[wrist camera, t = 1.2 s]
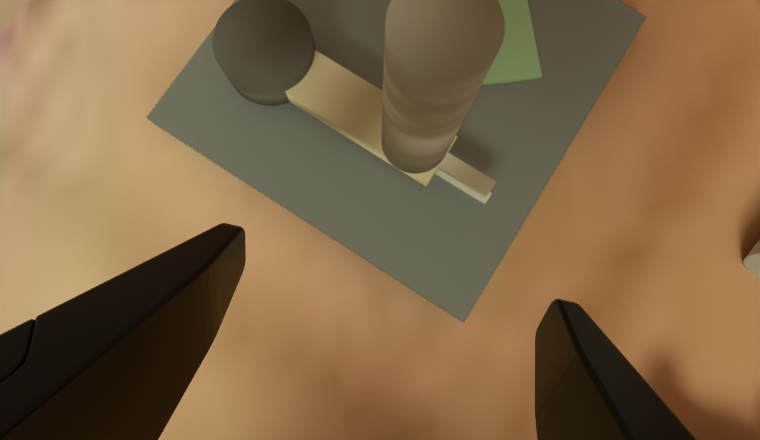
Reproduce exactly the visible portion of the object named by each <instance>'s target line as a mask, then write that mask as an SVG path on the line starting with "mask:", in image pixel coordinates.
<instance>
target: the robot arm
mask: <svg viewBox="0 0 760 440" xmlns="http://www.w3.org/2000/svg"><path fill="white" fill-rule="evenodd" d="M245 259H246V257H245V231H244V229H243V228H242V227H240V226H235V225H231V224H226V223H222V224H219V225H217V226H215V227H213V228H211V229H209V230H207V231H205V232H203V233H201V234H199V235H197V236H195V237H193V238H191V239H189V240H187V241H185V242H183V243H181V244H179V245H177V246H175V247H173V248H171V249H169V250H167V251H165V252H163V253H161V254H159V255H158V256H156V257H154V258H152V259H150V260H148V261H146V262H144V263H142V264H140V265H138V266H136V267H134V268H132V269H130V270H128V271H126V272H124V273H122V274H120V275H118V276H116V277H114V278H112V279H110V280H108V281H106V282H104V283H102V284H100V285H98V286H96V287H94V288H92V289H90V290H88V291H86V292H84V293H82V294H80V295H78V296H76V297H74V298H72V299H70V300H68V301H66V302H64V303H62V304H60V305H58V306H56V307H55V308H53V309H51V310H49V311H47V312H45V313H43V314H41V315H39V316H37V317H36V320H33V319H31V320H28V321H26V322H24V323H22V324H20V325H19V326H17V327H15V328H13V329H11V330H9V331H7V332H5V333H3V334H0V440H158V439H159V437H160V435H161V434H162V432H163V430H164V428H165V426H166V425H167V423H168V421H169V419H170V418H171V416H172V414H173V412H174V411H175V409H176V407H177V405H178V403H179V402H180V400H181V398H182V396H183V395H184V393H185V391H186V389H187V388H188V386H189V384H190V382H191V380H192V379H193V377H194V375H195V373H196V372H197V370H198V368H199V366H200V365H201V363H202V361H203V359H204V358H205V356H206V354H207V352H208V350H209V348H210V347H211V345H212V343H213V341H214V339H215V337H216V334H217V332H218V330H219V328H220V325H221V323H222V321H223V318H224V316H225V313H226V311H227V309H228V306H229V304H230V301H231V299H232V297H233V294H234V292H235V290H236V287H237V285H238V282H239V280H240V278H241V275H242V273H243V270H244V266H245ZM535 418H536V429H537V438H538V440H696V438H695V437H694V436H693V435H692V434H691V433H690V432H689V430H688V429H687V428H686V427H685V426H684V425H683V423H682V422H681V421H680V420H679V419H678V418H677V417H676V415H675V414H674V413H673V412H672V411H671V410H670V409H669V407H668V406H667V405H666V404H665V403H664V402H663V400H662V399H661V398H660V397H659V396H658V395H657V394H656V392H655V391H654V390H653V389H652V388H651V387H650V386H649V384H648V383H647V382H646V381H645V380H644V379H643V377H642V376H641V375H640V374H639V373H638V372H637V371H636V369H635V368H634V367H633V366H632V365H631V364H630V363H629V361H628V360H627V359H626V358H625V357H624V356H623V354H622V353H621V352H620V351H619V350H618V349H617V348H616V346H615V345H614V344H613V343H612V342H611V341H610V340H609V338H608V337H607V336H606V335H605V334H604V333H603V331H602V330H601V329H600V328H599V327H598V326H597V325H596V323H595V322H594V321H593V320H592V319H591V318H590V316H589V315H588V314H587V313H586V312H585V311H584V310H583V308H582V307H581V306H580V305H579V304H577V303H574V302H570V301H566V300H561V299H556V300H554V301H553V302H552V303H551V304H550V306H549V308H548V310H547V312H546V313H545V315H544V317H543V319H542V321H541V322H540V324H539V326H538V328H537V331H536V337H535Z"/></svg>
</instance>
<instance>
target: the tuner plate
mask: <svg viewBox="0 0 760 440" xmlns="http://www.w3.org/2000/svg"><path fill="white" fill-rule="evenodd" d="M238 1H240V0H235V1H234V2H233V4H235V3H236V2H238ZM288 1H290V2H291V3H293V4H294V5H296V6H297V7H298V8H299V9H300V10H301V11H302V12H303V14H304V15H305V17H306V18H307V20H308V22H309V24H310V27H311V31H312V35H313V39H314V43H315V47H316V51H318V52H319V53H321V54H323V55H324V56H326V57H328V58H329V59H331V60H333V61H334V62H336V63H337V64H339V65H341V66H342V67H344V68H346V69H347V70H349V71H351V72H352V73H354V74H356V75H357V76H359V77H360V78H362V79H364V80H365V81H367V82H369V83H370V84H372V85H374V86H375V87H377V88H379V89H380V90H382V91H383V73H384V44H385V20H386V13H387V9H388V6H389V4H390V2H391V0H288ZM498 2H499V4H500V6H501V8H502V11H503V15H504V20H505V35H504V39H503V43H502V46H501V48H500V50H499V52H498V54H497V56H496V58H495V60H494V62H493V64H492V66H491V68H490V70H489V72H488V74H487V75H486V77H485V79H484V81H483V83H482V85H481V87H480V89H479V91H478V93H477V95H476V97H475V99H474V101H473V103H472V105H471V107H470V108H469V110H468V112H467V114H466V116H465V118H464V120H463V122H462V124H461V126H460V128H459V130H458V132H457V134H456V136H457V139H456V141H455V142H454V144H453V146H452V148H451V149H450V151H449V152H448V153H450V154H452V155H453V156H455V157H457V158H458V159H460V160H461V161H463V162H465V163H466V164H468V165H470V166H471V167H473V168H475V169H476V170H478V171H479V172H481V173H483V174H484V175H486V176H488V177H489V178H491V179H492V180H494V181H496V183H495V185H494V186H493V188H492V190H491V191H490V193H489V194H488V196H486V197H483V196H481V195H480V194H478V193H477V192H475V191H473V190H472V189H470V188H468V187H467V186H465V185H464V184H462V183H460V182H459V181H457V180H455V179H454V178H452V177H451V176H449V175H447V174H446V173H444V172H442V171H441V170H439V169H438V170H437V171H436V173H435V174H434V176H433V177H432V179H431V180H430V182H429V184H428V185H427V187H426V186H424V185H423V184H421V183H419V182H418V181H416V180H415V179H413V178H411V177H410V176H408V175H406V174H405V173H403V172H402V171H400V170H398V169H397V168H395V167H394V166H392V165H390V164H389V163H387V162H386V161H384V160H382V159H381V158H379V157H378V156H376V155H374V154H373V153H371V152H369V151H368V150H366V149H365V148H363V147H361V146H360V145H358V144H357V143H355V142H353V141H352V140H350V139H349V138H347V137H345V136H344V135H342V134H341V133H339V132H337V131H336V130H334V129H332V128H331V127H329V126H328V125H326V124H324V123H323V122H321V121H320V120H318V119H316V118H315V117H313V116H312V115H310V114H308V113H307V112H305V111H304V110H302V109H300V108H299V107H297V106H295V105H294V104H292V103H291V102H289V103H286V104H283V105H277V106H265V105H260V104H256V103H253V102H251V101H249V100H247V99H246V98H244V97H243V96H241V95H240V94H239V93H238V92H237V90H236V89H235V88H234V87H233V85H232V84H231V82H230V81H229V79H228V78H227V77H226V75H225V74H224V72H223V71H222V69H221V68H220V67H219V65H218V63H217V61H216V59H215V56H214V53H213V47H212V38H213V32H214V29H215V28H214V29H213V30H212V32H211V33H210V34H209V35H208V37H207V38H206V39H205V41H204V42H203V43H202V45H201V46H200V47H199V49H198V50H197V51H196V53H195V54H194V55H193V57H192V58H191V59H190V61H189V62H188V63H187V65H186V66H185V67H184V69H183V70H182V71H181V73H180V74H179V75H178V76H177V78H176V79H175V80H174V82H173V83H172V84H171V86H170V87H169V88H168V90H167V91H166V92H165V94H164V95H163V96H162V98H161V99H160V100H159V102H158V103H157V104H156V106H155V107H154V108H153V110H152V111H151V112H150V113H149V115H148V116H147V117H146V118H147V119H149V120H150V121H151V122H153V123H154V124H155V125H157V126H158V127H160V128H161V129H163V130H165V131H166V132H168V133H169V134H171V135H172V136H174V137H175V138H177V139H179V140H180V141H182V142H183V143H185V144H186V145H188V146H189V147H191V148H193V149H194V150H196V151H197V152H199V153H200V154H202V155H203V156H205V157H207V158H208V159H210V160H211V161H213V162H214V163H216V164H217V165H219V166H221V167H222V168H224V169H225V170H227V171H228V172H230V173H231V174H233V175H235V176H236V177H238V178H239V179H241V180H242V181H244V182H245V183H247V184H249V185H250V186H252V187H253V188H255V189H256V190H258V191H259V192H261V193H263V194H264V195H266V196H267V197H269V198H270V199H272V200H273V201H275V202H277V203H278V204H280V205H281V206H283V207H284V208H286V209H287V210H289V211H291V212H292V213H294V214H295V215H297V216H298V217H300V218H301V219H303V220H305V221H306V222H308V223H309V224H311V225H312V226H314V227H315V228H317V229H318V230H320V231H322V232H323V233H325V234H326V235H328V236H329V237H331V238H332V239H334V240H336V241H337V242H339V243H340V244H342V245H343V246H345V247H346V248H348V249H350V250H351V251H353V252H354V253H356V254H357V255H359V256H360V257H362V258H364V259H365V260H367V261H368V262H370V263H371V264H373V265H374V266H376V267H378V268H379V269H381V270H382V271H384V272H385V273H387V274H388V275H390V276H392V277H393V278H395V279H396V280H398V281H399V282H401V283H402V284H404V285H406V286H407V287H409V288H410V289H412V290H413V291H415V292H416V293H418V294H420V295H421V296H423V297H424V298H426V299H427V300H429V301H430V302H432V303H434V304H435V305H437V306H438V307H440V308H441V309H443V310H444V311H446V312H448V313H449V314H451V315H452V316H454V317H455V318H457V319H458V320H460V321H463V322H465V320H466V318H467V317H468V315H469V313H470V312H471V310H472V308H473V307H474V305H475V303H476V302H477V300H478V298H479V297H480V295H481V293H482V292H483V290H484V288H485V286H486V285H487V283H488V281H489V280H490V278H491V276H492V275H493V273H494V271H495V270H496V268H497V266H498V265H499V263H500V261H501V260H502V258H503V256H504V255H505V253H506V251H507V250H508V248H509V246H510V245H511V243H512V241H513V240H514V238H515V236H516V235H517V233H518V231H519V230H520V228H521V226H522V225H523V223H524V221H525V220H526V218H527V216H528V214H529V213H530V211H531V209H532V208H533V206H534V204H535V203H536V201H537V199H538V198H539V196H540V194H541V193H542V191H543V189H544V188H545V186H546V184H547V183H548V181H549V179H550V178H551V176H552V174H553V173H554V171H555V169H556V168H557V166H558V164H559V163H560V161H561V159H562V158H563V156H564V154H565V153H566V151H567V149H568V147H569V146H570V144H571V142H572V141H573V139H574V137H575V136H576V134H577V132H578V131H579V129H580V127H581V126H582V124H583V122H584V121H585V119H586V117H587V116H588V114H589V112H590V111H591V109H592V107H593V106H594V104H595V102H596V101H597V99H598V97H599V96H600V94H601V92H602V91H603V89H604V87H605V86H606V84H607V82H608V80H609V79H610V77H611V75H612V74H613V72H614V70H615V69H616V67H617V65H618V64H619V62H620V60H621V59H622V57H623V55H624V54H625V52H626V50H627V49H628V47H629V45H630V44H631V42H632V40H633V39H634V37H635V35H636V34H637V32H638V30H639V29H640V27H641V25H642V24H643V22H644V20H645V19H646V16H645V15H643V14H641V13H639V12H638V11H636V10H634V9H632V8H630V7H629V6H627V5H625V4H623V3H622V2H620V1H618V0H498ZM233 4H232V5H233ZM232 5H231V6H232Z"/></svg>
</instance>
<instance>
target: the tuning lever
mask: <svg viewBox="0 0 760 440" xmlns="http://www.w3.org/2000/svg"><path fill="white" fill-rule="evenodd" d="M504 35H505V20H504V15H503V11H502V8H501V6H500V4H499V2H498V0H391V2H390V4H389V6H388V9H387V13H386V20H385V44H384V73H383V91H382V90H380V89H379V88H377V87H375V86H374V85H372V84H370V83H369V82H367V81H365V80H364V79H362V78H360V77H359V76H357V75H356V74H354V73H352V72H351V71H349V70H347V69H346V68H344V67H342V66H341V65H339V64H337V63H336V62H334V61H333V60H331V59H329V58H328V57H326V56H324V55H323V54H321V53H319V52H318V51H316V47H315V43H314V39H313V35H312V31H311V27H310V24H309V22H308V20H307V18H306V17H305V15H304V14H303V12H302V11H301V10H300V9H299V8H298V7H297V6H296V5H294V4H293V3H291V2H290V1H288V0H240V1H238V2H236V3H235V4H233V5H232V6H230V7H229V8H228V9H227V10H226V11H225V12H224V13H223V14H222V16H221V17H220V19H219V20H218V22H217V24H216V26H215V29H214V32H213V38H212V47H213V53H214V56H215V59H216V61H217V63H218V65H219V67H220V68H221V69H222V71H223V72H224V74H225V75H226V77H227V78H228V79H229V81H230V82H231V84H232V85H233V87H234V88H235V89H236V90H237V92H238V93H239V94H240V95H241V96H243V97H244V98H246V99H247V100H249V101H251V102H253V103H256V104H260V105H265V106H277V105H283V104H286V103H289V102H291V103H292V104H294V105H295V106H297V107H299V108H300V109H302V110H304V111H305V112H307V113H308V114H310V115H312V116H313V117H315V118H316V119H318V120H320V121H321V122H323V123H324V124H326V125H328V126H329V127H331V128H332V129H334V130H336V131H337V132H339V133H341V134H342V135H344V136H345V137H347V138H349V139H350V140H352V141H353V142H355V143H357V144H358V145H360V146H361V147H363V148H365V149H366V150H368V151H369V152H371V153H373V154H374V155H376V156H378V157H379V158H381V159H382V160H384V161H386V162H387V163H389V164H390V165H392V166H394V167H395V168H397V169H398V170H400V171H402V172H403V173H405V174H406V175H408V176H410V177H411V178H413V179H415V180H416V181H418V182H419V183H421V184H423V185H424V186H426V187H427V185H428V184H429V182H430V180H431V179H432V177H433V176H434V174H435V173H436V171H437V170H438V169H439V170H441V171H442V172H444V173H446V174H447V175H449V176H451V177H452V178H454V179H455V180H457V181H459V182H460V183H462V184H464V185H465V186H467V187H468V188H470V189H472V190H473V191H475V192H477V193H478V194H480V195H481V196H483V197H486V196H488V194H489V193H490V191H491V190H492V188H493V186H494V185H495V183H496V181H494V180H492V179H491V178H489V177H488V176H486V175H484V174H483V173H481V172H479V171H478V170H476V169H475V168H473V167H471V166H470V165H468V164H466V163H465V162H463V161H461V160H460V159H458V158H457V157H455V156H453V155H452V154H450V153H448V152H449V151H450V149H451V148H452V146H453V144H454V142H455V141H456V139H457V136H456V134H457V132H458V130H459V128H460V126H461V124H462V122H463V120H464V118H465V116H466V114H467V112H468V110H469V108H470V107H471V105H472V103H473V101H474V99H475V97H476V95H477V93H478V91H479V89H480V87H481V85H482V83H483V81H484V79H485V77H486V75H487V74H488V72H489V70H490V68H491V66H492V64H493V62H494V60H495V58H496V56H497V54H498V52H499V50H500V48H501V46H502V43H503V39H504Z"/></svg>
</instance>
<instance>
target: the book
mask: <svg viewBox="0 0 760 440" xmlns="http://www.w3.org/2000/svg"><path fill="white" fill-rule="evenodd" d="M743 264H744V266H745V267H746V268H747V269H748V270H749V271H750V272H751V273H752V274H754V275H755V276H756V277H757V278H758V279H760V239H759V241H758V242H757V243H756V244H755V246H754V247H753V248H752V249H751V251H750V252H749V253H748V254H747V256H746V257H745V258H744V260H743Z"/></svg>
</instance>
